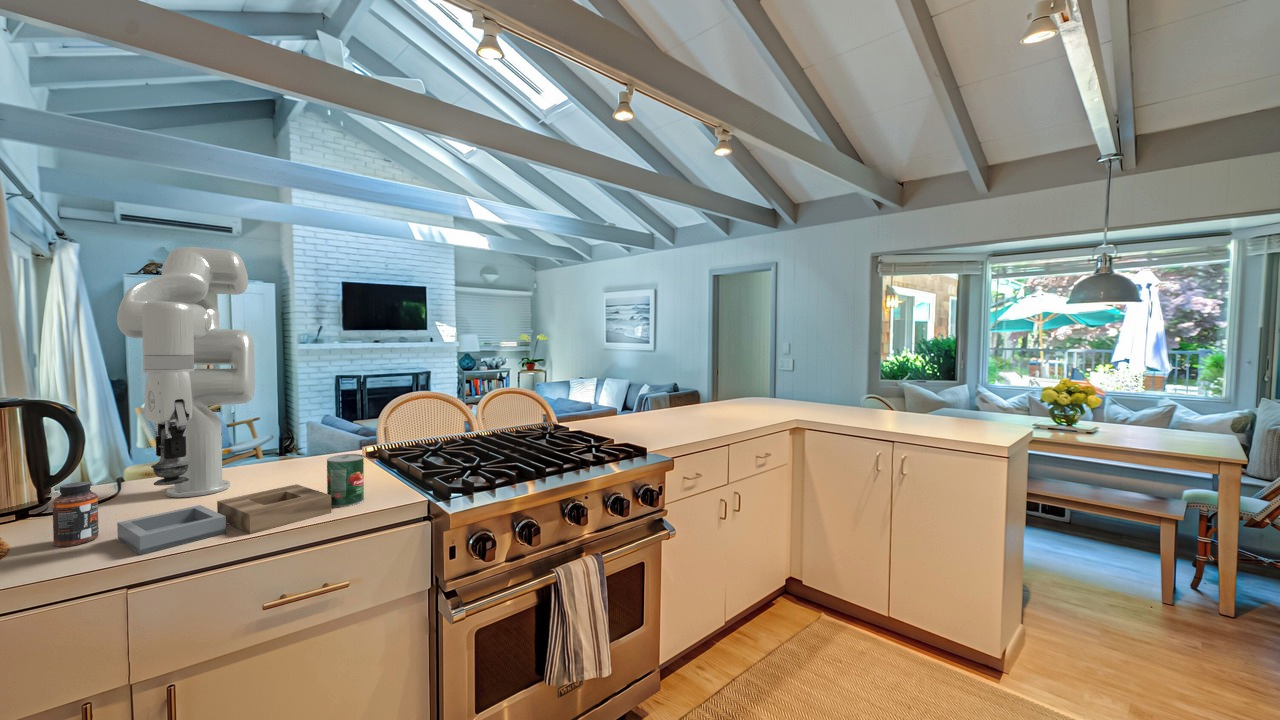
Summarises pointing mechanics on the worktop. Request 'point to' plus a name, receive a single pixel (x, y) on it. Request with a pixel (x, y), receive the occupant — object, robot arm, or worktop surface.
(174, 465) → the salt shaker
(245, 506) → the socket block
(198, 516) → the tray
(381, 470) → the worktop surface
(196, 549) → the worktop surface
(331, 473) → the canned tomato
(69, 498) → the supplement bottle
